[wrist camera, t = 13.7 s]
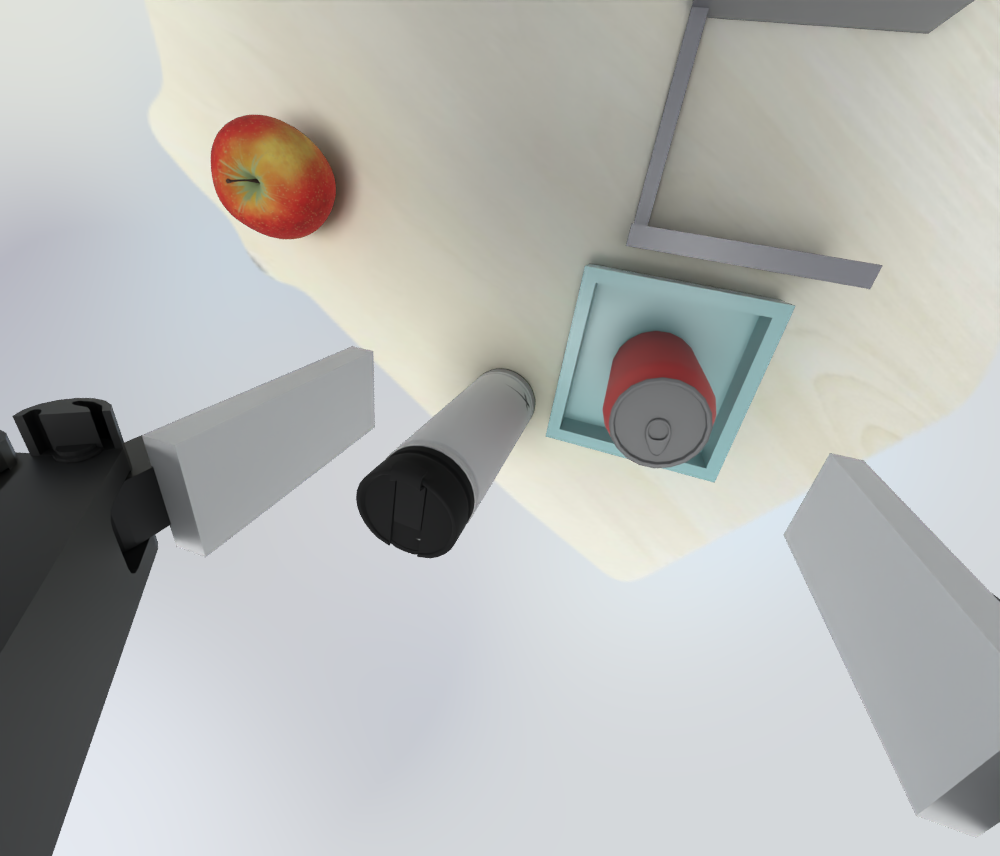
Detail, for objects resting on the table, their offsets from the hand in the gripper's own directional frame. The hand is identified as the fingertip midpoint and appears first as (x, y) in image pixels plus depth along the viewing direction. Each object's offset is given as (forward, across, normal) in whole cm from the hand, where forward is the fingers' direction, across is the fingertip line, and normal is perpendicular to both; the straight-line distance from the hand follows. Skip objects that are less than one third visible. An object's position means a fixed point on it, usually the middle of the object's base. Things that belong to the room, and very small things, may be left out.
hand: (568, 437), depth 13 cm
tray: (+25, +4, -4) cm, 25 cm away
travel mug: (+25, -8, -10) cm, 28 cm away
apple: (+25, -27, +5) cm, 38 cm away
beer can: (+24, +4, -4) cm, 25 cm away
